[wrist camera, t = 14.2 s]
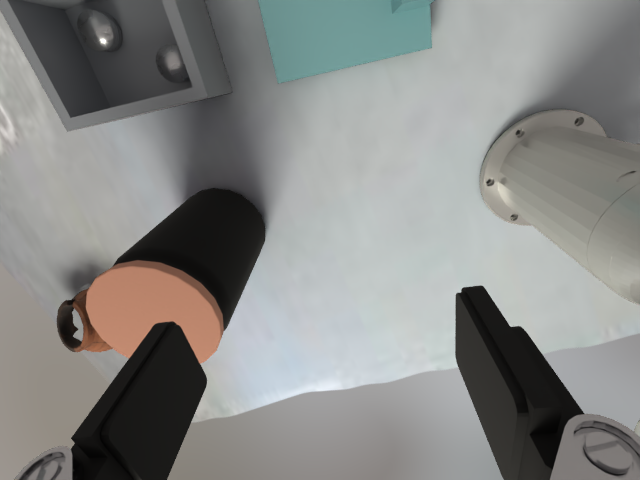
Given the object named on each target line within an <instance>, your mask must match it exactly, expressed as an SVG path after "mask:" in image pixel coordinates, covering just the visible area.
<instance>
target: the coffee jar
mask: <svg viewBox="0 0 640 480" xmlns="http://www.w3.org/2000/svg"><path fill="white" fill-rule="evenodd" d="M264 242H265V226H264V223H263V220H262V217H261V214H260V213H259V212H258V210H257V209H256V208H255V206H254V205H253V204H252V203H251V202H250V201H249V200H247V199H246V198H245V197H243V196H242V195H240V194H237V193H235V192H233V191H230V190H225V189H215V188H213V189H208V190H203V191H200V192H198V193H197V194H195V195H194V196H192V197H190V198H189V199H188V200H187V201H186V202H184V203H183V204H182V205H181V206H180V207H178V208H177V209H176V210H175V211H174V212H173V213H171V214H170V215H169V216H168V217H167V218H165V219H164V220H163V221H162V222H161V223H160V224H158V225H157V226H156V227H155V228H154V229H152V230H151V231H150V232H149V233H148V234H147V235H145V236H144V237H143V238H142V239H141V240H139V241H138V242H137V243H136V244H135V245H134V246H132V247H131V248H130V249H129V250H128V251H126V252H125V253H124V254H123V255H122V256H121V257H119V258H118V259H117V261H116V262H115V264H114V265H113V267H112V268H110V269H108V270H107V271H105V272H103V273H102V274H100V275H99V276H98V277H96V278H95V280H94V282H93V283H92V285H91V286H90V288H89V289H88V291H87V298H86V310H87V313H88V316H89V319H90V322H91V325H92V326H93V327H94V329H95V330H96V331H97V333H98V334H99V336H100V337H101V338H102V339H103V340H104V341H105V342H106V343H107V344H109V345H110V346H111V347H112V348H113V349H114V350H116V351H117V352H118V353H120V354H122V355H124V356H126V357H128V358H130V357H131V356H132V354H133V353H134V351H135V350H136V349H137V347H138V346H139V345H140V343H141V342H142V340H143V339H144V338H145V336H146V335H147V334H148V332H149V331H150V330H151V328H152V327H153V326H154V325H155V324H156V323H161V322H170V321H173V322H175V323H176V324H177V325H179V326H180V327H181V328H182V330H183V332H184V334H185V336H186V338H187V340H188V342H189V344H190V346H191V348H192V349H193V351H194V353H195V355H196V357H197V359H198V361H199V363H203V362H205V361H206V360H207V359H208V358H209V357H210V356H211V355H212V354H213V353H214V352H215V351H216V350H217V348H218V345H219V343H220V340H221V337H222V335H223V331H224V330H225V329H226V328H227V326H228V324H229V322H230V319H231V317H232V315H233V313H234V310H235V308H236V306H237V304H238V301H239V299H240V297H241V295H242V292H243V290H244V288H245V286H246V283H247V281H248V279H249V277H250V274H251V272H252V270H253V267H254V265H255V263H256V261H257V258H258V256H259V254H260V252H261V249H262V247H263V244H264Z"/></svg>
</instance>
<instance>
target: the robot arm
mask: <svg viewBox="0 0 640 480" xmlns="http://www.w3.org/2000/svg"><path fill="white" fill-rule="evenodd" d="M517 130H518V133H517V134H516V131H517ZM488 179H489V181H488V182H487V180H488ZM480 190H481V195H482V197H483V200H484V202H485V204H486V205H487V206H488V208H489V209H490V210H491V211H492V212H493V213H494V214H495V215H496V216H498V217H499V218H501V219H502V220H504V221H506V222H509V223H512V224H517V225H526V226H533V227H534V228H536V229H537V230H538V231H539V232H541V233H542V234H543V235H544V236H546V237H547V238H548V239H549V240H550V241H552V242H553V243H554V244H555V245H557V246H558V247H559V248H560V249H562V250H563V251H564V252H565V253H566V254H568V255H569V256H570V257H571V258H573V259H574V260H575V261H576V262H578V263H579V264H580V265H581V266H582V267H584V268H585V269H586V270H587V271H589V272H590V273H591V274H592V275H594V276H595V277H596V278H597V279H599V280H600V281H601V282H602V283H604V284H605V285H606V286H607V287H609V288H610V289H611V290H612V291H614V292H615V293H617V294H618V295H620V296H621V297H623V298H625V299H627V300H628V301H630V302H633V303H635V304H638V305H640V144H632V143H628V142H624V141H620V140H616V139H612V138H608V137H607V135H606V133H605V131H604V129H603V127H602V126H601V125H600V124H599V123H598V122H597V121H596V120H595V119H593V118H592V117H590V116H588V115H587V114H584V113H580V112H577V111H573V110H566V109H552V110H547V111H542V112H538V113H536V114H533V115H530V116H528V117H526V118H524V119H522V120H521V121H519V122H517V123H515V124H514V125H513V126H511V127H510V128H509V129H508V130H506V131H505V132H504V133H503V134H502V135H501V136H500V137H499V138H498V139H497V140H496V142H495V143H494V144H493V146H492V147H491V149H490V150H489V152H488V154H487V156H486V158H485V160H484V162H483V165H482V169H481V173H480ZM455 353H456V360H457V364H458V367H459V370H460V372H461V375H462V377H463V380H464V382H465V385H466V387H467V390H468V392H469V394H470V397H471V399H472V402H473V404H474V407H475V409H476V412H477V415H478V417H479V420H480V422H481V425H482V427H483V430H484V432H485V435H486V437H487V440H488V442H489V444H490V447H491V450H492V452H493V455H494V457H495V460H496V462H497V465H498V467H499V469H500V472H501V475H502V477H503V479H504V480H640V420H639V421H638V423H637V425H636V427H635V429H634V432H633V431H632V430H630V429H629V428H628V427H626V426H624V425H622V424H620V423H619V422H617V421H615V420H612V419H609V418H606V417H603V416H600V415H593V414H584V413H583V411H582V410H581V409H580V407H579V406H578V404H577V403H576V401H575V400H574V399H573V397H572V396H571V394H570V393H569V391H568V390H567V389H566V387H565V386H564V384H563V383H562V382H561V380H560V379H559V377H558V376H557V375H556V373H555V372H554V370H553V369H552V368H551V366H550V365H549V364H548V362H547V361H546V359H545V358H544V356H543V355H542V354H541V352H540V351H539V349H538V348H537V346H536V345H535V344H534V342H533V341H532V339H531V338H530V337H529V335H528V334H527V332H526V331H525V330H524V329H523V328H522V327H520V326H516V327H510V326H509V324H508V323H507V321H506V320H505V318H504V317H503V315H502V314H501V312H500V311H499V309H498V308H497V306H496V305H495V303H494V302H493V300H492V298H491V297H490V295H489V294H488V292H487V291H486V289H485V288H484V287H483V286H473V287H465V288H462V292H461V293H456V351H455ZM206 385H207V378H206V375H205V373H204V371H203V369H202V367H201V365H200V363H199V361H198V359H197V357H196V355H195V353H194V351H193V349H192V348H191V346H190V344H189V342H188V340H187V338H186V336H185V334H184V332H183V330H182V328H181V327H180V326H179V325H177V324H176V323H175V322H173V321H170V322H161V323H156V324H155V325H154V326H153V327H152V328H151V330H150V331H149V332H148V334H147V335H146V336H145V338H144V339H143V340H142V342H141V343H140V345H139V346H138V347H137V349H136V350H135V351H134V353H133V354H132V356H131V357H130V358H129V360H128V361H127V362H126V364H125V365H124V367H123V368H122V369H121V371H120V372H119V373H118V375H117V376H116V377H115V379H114V380H113V382H112V383H111V384H110V386H109V387H108V389H107V390H106V391H105V393H104V394H103V395H102V397H101V398H100V399H99V401H98V402H97V404H96V405H95V406H94V408H93V409H92V410H91V412H90V413H89V415H88V416H87V417H86V419H85V420H84V421H83V423H82V424H81V425H80V427H79V428H78V430H77V431H76V432H75V434H74V435H73V436H72V438H71V439H72V440H73V441H74V442H75V444H74V446H73V447H72V448H71V449H70V448H68V447H67V446H58V447H55V448H52V449H49V450H47V451H45V452H44V453H42V454H40V455H39V456H38V457H36V458H35V459H33V460H32V461H31V462H30V463H29V464H28V465H26V466H25V467H24V468H23V469H22V470H21V472H20V473H19V474H18V475H17V476H16V477H15V479H14V480H167V478H168V476H169V473H170V471H171V468H172V466H173V464H174V461H175V459H176V456H177V454H178V452H179V450H180V447H181V445H182V442H183V440H184V437H185V435H186V433H187V430H188V428H189V426H190V424H191V421H192V419H193V416H194V414H195V412H196V409H197V407H198V405H199V402H200V400H201V397H202V395H203V393H204V390H205V388H206Z"/></svg>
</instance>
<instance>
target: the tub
mask: <svg viewBox="0 0 640 480" xmlns="http://www.w3.org/2000/svg"><path fill="white" fill-rule="evenodd" d="M89 9H90V10H95V11H99V12H103V13H107V14H109V15H111V16H112V17H113V18H114V19H115V20H116V21H117V22H118V24H119V25H120V27H121V30H122V33H123V43H122V45H121V47H120V48H119V49H118V50H117V51H114V52H106V51H97V50H94V49H92V48H90V47H89V46H88V45H87V44H86V43H85V42H84V41H83V40H82V38H81V36H80V34H79V31H78V27H77V20H78V17H79V15H80V13H81V12H83V11H84V10H89ZM0 10H1V12H2V14H3V16H4V18H5V20H6V21H7V23H8V25H9V27H10V29H11V30H12V32H13V34H14V36H15V38H16V39H17V41H18V43H19V45H20V47H21V49H22V50H23V52H24V54H25V56H26V58H27V59H28V61H29V63H30V65H31V67H32V69H33V70H34V72H35V74H36V76H37V78H38V79H39V81H40V83H41V85H42V87H43V88H44V90H45V92H46V94H47V96H48V98H49V99H50V101H51V103H52V105H53V107H54V108H55V110H56V112H57V114H58V116H59V118H60V119H61V121H62V123H63V125H64V127H65V128H66V130H67V132H68V131H72V130H77V129H81V128H86V127H90V126H94V125H99V124H103V123H108V122H112V121H117V120H121V119H125V118H129V117H133V116H137V115H141V114H145V113H150V112H154V111H158V110H162V109H166V108H170V107H174V106H179V105H183V104H187V103H191V102H195V101H199V100H203V99H208V98H212V97H216V96H220V95H224V94H228V93H232V89H231V85H230V82H229V79H228V76H227V72H226V69H225V66H224V63H223V59H222V56H221V53H220V50H219V46H218V43H217V40H216V37H215V33H214V30H213V27H212V24H211V20H210V17H209V14H208V11H207V7H206V4H205V1H204V0H0ZM165 44H173V45H178V47H179V50H180V53H181V55H182V58H183V61H184V64H185V67H186V69H187V72H188V75H189V78H190V80H189V81H187V82H179V83H174V82H170V81H168V80H167V79H165V78H164V77H163V76H162V75H161V74H160V72H159V70H158V68H157V65H156V54H157V51H158V49H159V48H160V47H161V46H163V45H165Z"/></svg>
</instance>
